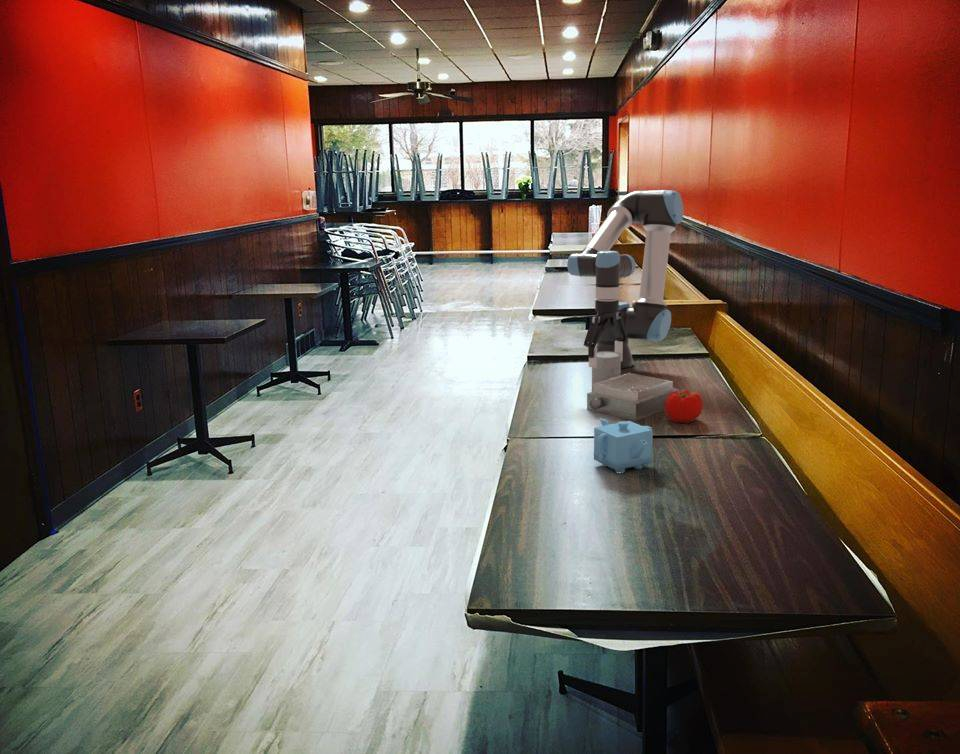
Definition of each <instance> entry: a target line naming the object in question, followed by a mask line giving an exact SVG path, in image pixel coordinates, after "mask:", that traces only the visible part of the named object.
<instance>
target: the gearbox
mask: <svg viewBox="0 0 960 754" xmlns="http://www.w3.org/2000/svg"><path fill="white" fill-rule="evenodd" d="M673 383H674V381H673V380H668V379H662V378H658V377H652V376H647V375H642V374H636V373H632V372H628V373H624V374H621V375H620V376H617V377H614V378H610V379H607V380H604V381H601V382H597V383H594V384H593V391H592V390H591V392H587V393H586V409H587V410H590V411H593V412H597V413H601V414H606V415H610V416H614V417H618V418H622V419H627V420H629V421H639V420H641V419H644V418H646V417H649V416H652V415H656V414H657V413H660V412H663V411H665V401H666V399H667V397H668V395H669V394H670V393H672V392H674V391H677V392H679V388H675V387H674V386H673V385H674V384H673Z"/></svg>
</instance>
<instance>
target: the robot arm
mask: <svg viewBox="0 0 960 754" xmlns="http://www.w3.org/2000/svg"><path fill="white" fill-rule="evenodd" d="M682 199H683V198H682V196H681V194H680V193H679V192H678V191H676V190H672V189H671V190H670V189H654V190H653V189H652V190H643V189H642V190H635V191H631V192H629V193H627V194H625V195H623V196H622V197H620V198H619V199H617V200H616V201H615V202H614V203H613V204H612V206H611V207H610V208H609V209H608V211H607V215H606V216H607V217H606V218H605V219H604V221H603V222H602V224H601V225H600V226H599V228H598V229H596V232H595V233H594V235H593V236H592V237H591V239H590V240H589V241H588V242H587V244H586V245H585V247H584V248H583V250H581V252H580V253H577V252H576V253H571V254H570V255H569V256H568V257H567V263H566V267H567V271H568V273H569V274H570V275H571V276H575V277H580V278H581V277H589V278H590V277H591V278H593V277H594V278H595V299H596V300H594V311H595V312H596V313H597V314H596V316H592V315H591V316H590V322H589V325H588V329H587V333H586V335H585V338H584V341H583V346H584V347H586V348H587V349H588V353H587V355H588V356H587V357H588V367H589V368H592V367H593V368H597V352H602V351H610V352H617V353H620V354H621V369H626V368H631V367H633V365H634V358H633V356H632V351H631V348H630V344H629V340H638V341H648V342H661V341H662V340H664V339H665V338H666V336H667V335H668V333H669V330H670V328H671V324H672V312H671V311H670V310H669V309H668V308H667V307H668V305H667V303H666V302H665V300H664V296H665V295H664V294H665V289H666V288H665V285H666V279H667V278H666V277H667V270H668V260H669V252H670V244H671V243H670V242H671V241H670V240H671V234H672V233H673V232H674V231H675V230H676V227H677V225H678V224H681V223H682V221H683V218H684V204H683V200H682ZM632 224H642V228H643V229H644V231H645V232H646V233H645V241H644V242H645V243H644V253H643V260H642V261H643V262H642V269H641V270H642V271H641V278H640V288H639V295H638V298H637V299H636V300H635V301H634V303H633V307H632V306H631V305H630V303H629V302H625V301H622V302H621V301H619V298H620V279H623V278H624V279H626V278H628V277H629V276H631V275H633V274H634V272H635V271H636V267H637V265H636V261H635V259H634V257H633V256H631V255H629V254H624V253H623V254H622V253H621V254H620V252H619V251H617V250H611V248H613V246H614V245H615V243H616V242H617V240H618V239H619V238H620V236H621V234H622V233H623V232H624V231H625V229H628V228H630V227H631V226H632Z"/></svg>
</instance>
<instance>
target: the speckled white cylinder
mask: <svg viewBox="0 0 960 754" xmlns="http://www.w3.org/2000/svg"><path fill="white" fill-rule="evenodd" d="M621 369H622V368H621V354H620V353H617V352H610V351H602V352H597V368H593V367H591V392H592V391H593V384H594V383H597V382H601V381H604V380H607V379H610V378H614V377H617V376H620V375H622V374H621V373H622V372H621Z"/></svg>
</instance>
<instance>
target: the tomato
mask: <svg viewBox="0 0 960 754" xmlns="http://www.w3.org/2000/svg"><path fill="white" fill-rule="evenodd" d="M703 405H704V403H703V398H702V396H701V394H700V393H698V392H696V391H695V392H693V393H692V392H691V391H689V389H687V390H686V389H685V390H682V391H681V390H678V392H677V391H674V392H672V393H670V394H669V395H668V397H667V399H666V401H665V410H664V412H665V413H666V415H667V417H668V418H669V420H671V421H673V422H674V423H683V424H688V423H691V422H692V421H694V420H695V419H698V418H699V417H700V416H701V414H702V413H703V410H704V406H703Z"/></svg>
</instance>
